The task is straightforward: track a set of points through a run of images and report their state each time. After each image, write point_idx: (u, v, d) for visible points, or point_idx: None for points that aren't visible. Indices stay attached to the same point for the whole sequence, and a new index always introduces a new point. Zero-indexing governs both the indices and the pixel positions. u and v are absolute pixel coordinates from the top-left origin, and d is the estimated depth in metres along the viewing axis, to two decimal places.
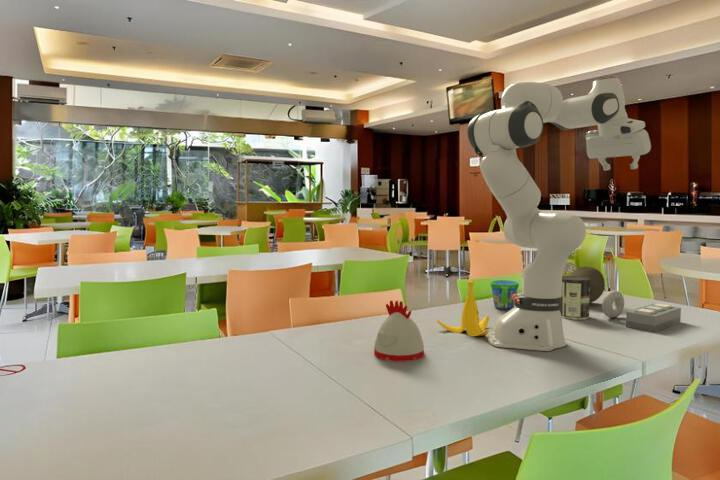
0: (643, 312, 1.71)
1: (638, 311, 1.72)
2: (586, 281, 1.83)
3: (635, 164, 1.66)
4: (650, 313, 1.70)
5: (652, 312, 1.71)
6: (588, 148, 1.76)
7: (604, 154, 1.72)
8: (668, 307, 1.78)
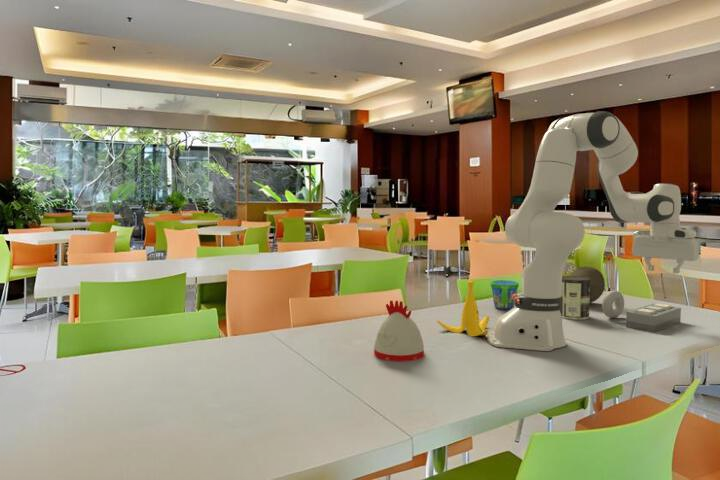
0: (643, 312, 1.71)
1: (638, 311, 1.72)
2: (586, 281, 1.83)
3: (678, 269, 1.75)
4: (650, 313, 1.70)
5: (652, 312, 1.71)
6: (634, 246, 1.84)
7: (650, 254, 1.80)
8: (668, 307, 1.78)
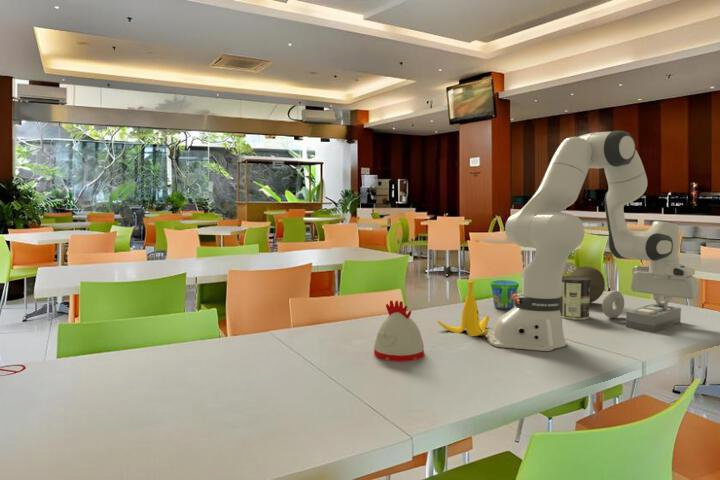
0: (643, 312, 1.71)
1: (638, 311, 1.72)
2: (586, 281, 1.83)
3: (666, 304, 1.78)
4: (650, 313, 1.70)
5: (652, 312, 1.71)
6: (633, 281, 1.85)
7: (649, 290, 1.81)
8: None
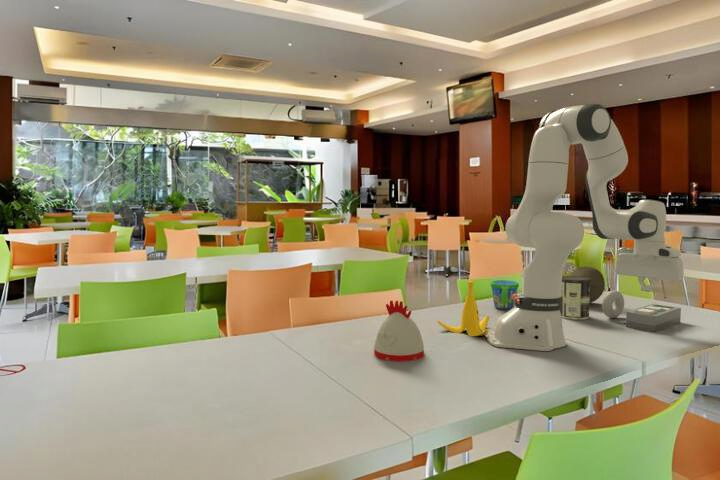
0: (643, 312, 1.71)
1: (638, 311, 1.72)
2: (586, 281, 1.83)
3: (651, 287, 1.71)
4: (650, 313, 1.70)
5: (652, 312, 1.71)
6: (618, 263, 1.77)
7: (634, 272, 1.73)
8: None
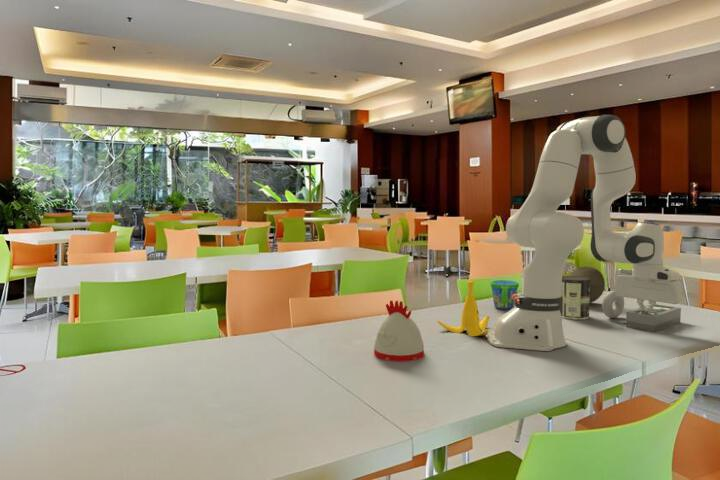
0: None
1: None
2: (586, 281, 1.83)
3: (650, 310, 1.71)
4: None
5: None
6: (617, 285, 1.77)
7: (633, 295, 1.73)
8: None
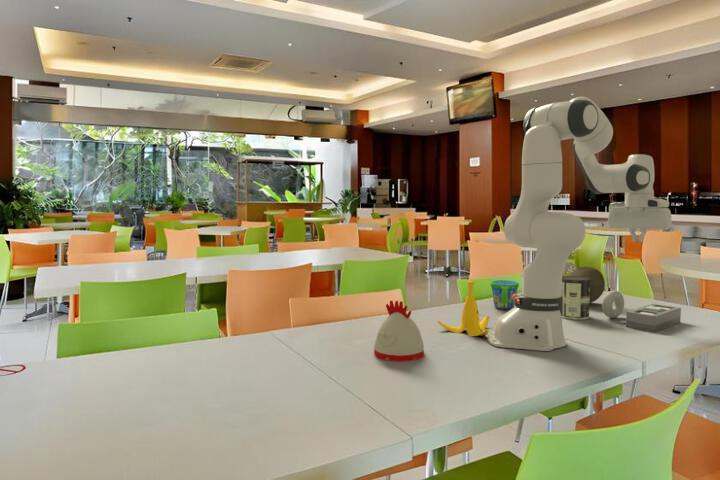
0: None
1: None
2: (586, 281, 1.83)
3: (641, 238, 1.80)
4: None
5: None
6: (610, 217, 1.87)
7: (625, 224, 1.83)
8: None
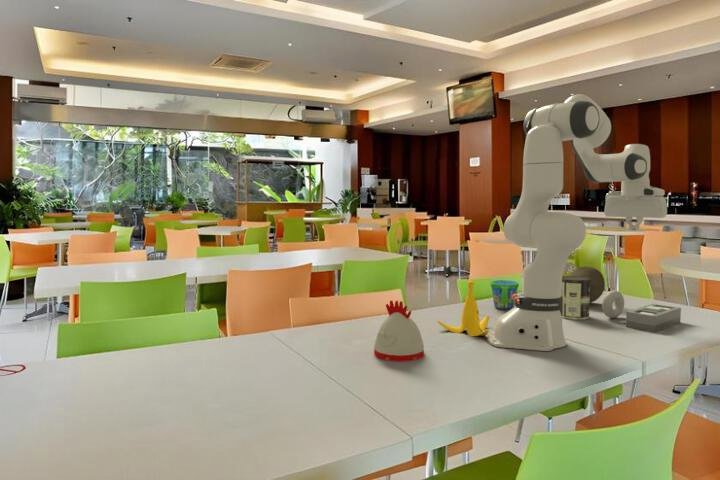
0: None
1: None
2: (586, 281, 1.83)
3: (637, 226, 1.84)
4: None
5: None
6: (607, 206, 1.90)
7: (621, 213, 1.86)
8: None
